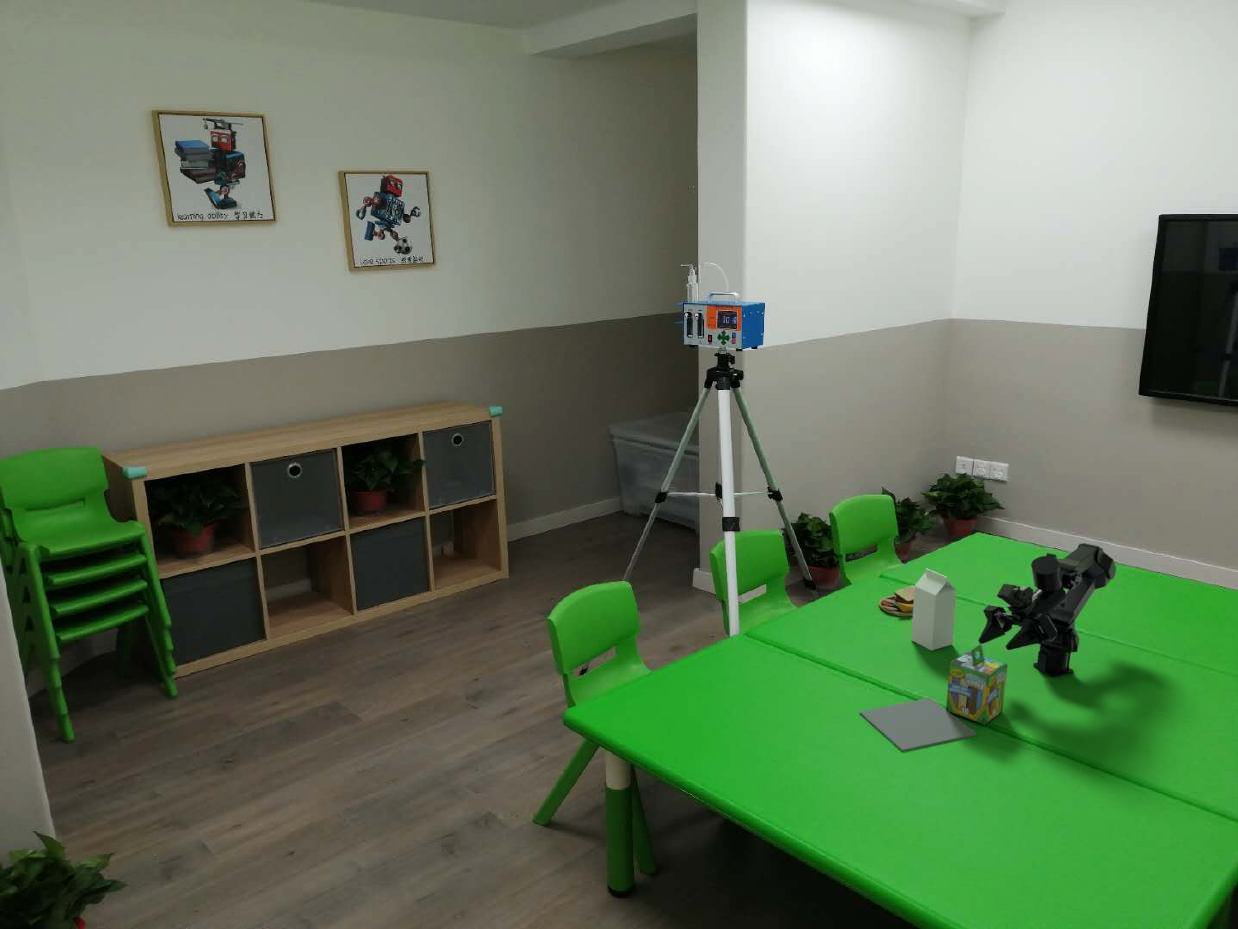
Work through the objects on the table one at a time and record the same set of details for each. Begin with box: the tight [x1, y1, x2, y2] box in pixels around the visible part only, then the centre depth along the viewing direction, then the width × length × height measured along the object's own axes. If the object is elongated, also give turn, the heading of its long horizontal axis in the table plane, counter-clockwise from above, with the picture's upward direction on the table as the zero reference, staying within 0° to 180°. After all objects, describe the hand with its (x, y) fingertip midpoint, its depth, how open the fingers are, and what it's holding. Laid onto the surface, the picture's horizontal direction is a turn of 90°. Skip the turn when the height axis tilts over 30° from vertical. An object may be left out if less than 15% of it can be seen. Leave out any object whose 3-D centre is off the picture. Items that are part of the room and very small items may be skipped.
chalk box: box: [945, 643, 1008, 725], centre depth 203 cm, size 9×9×15 cm
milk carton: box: [910, 568, 957, 652], centre depth 235 cm, size 7×7×19 cm
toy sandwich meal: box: [878, 584, 915, 617], centre depth 258 cm, size 12×14×5 cm
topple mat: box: [859, 697, 978, 752], centre depth 201 cm, size 18×16×1 cm
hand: (992, 645), depth 208 cm, fingers open, 9 cm apart
